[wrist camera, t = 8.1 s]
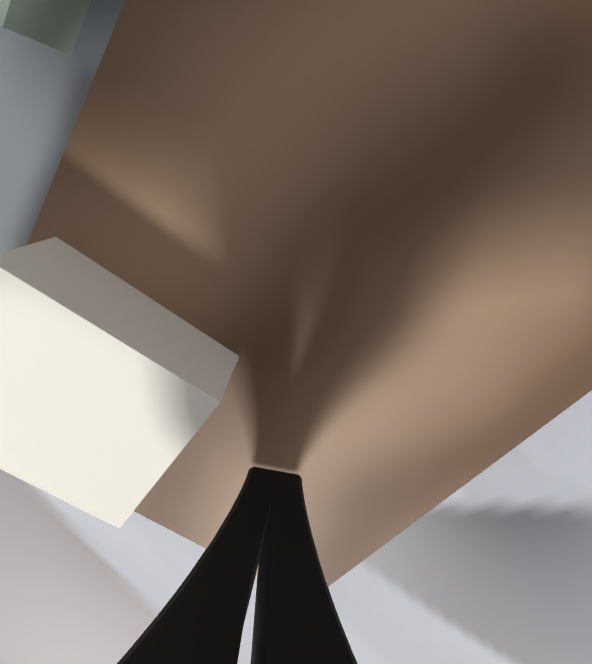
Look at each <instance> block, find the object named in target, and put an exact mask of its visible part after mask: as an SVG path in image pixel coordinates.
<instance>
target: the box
mask: <svg viewBox="0 0 592 664" xmlns="http://www.w3.org/2000/svg"><path fill="white" fill-rule="evenodd" d="M124 3H125V0H91V3H90V6H89V8H88V11H87V14H86V16H85V19H84V22H83V24H82V27H81V30H80V33H79V35H78V38H77V41H76V43H75V46H74V49H73V51H72V54H71V55H70V54H67V53H65V52H62V51H60V50H57V49H55V48H52V47H50V46H48V45H45V44H43V43H40V42H38V41H35V40H33V39H30V38H28V37H25V36H23V35H21V34H18V33H16V32H13V31H11V30H8V29H6V28H3V27H2V26H0V253H3V252H6V251H9V250H13V249H16V248H19V247H23V246H26V245H27V242H28V240H29V237H30V235H31V232H32V230H33V227H34V225H35V222H36V220H37V217H38V215H39V213H40V210H41V208H42V205H43V203H44V200H45V198H46V195H47V193H48V190H49V188H50V185H51V183H52V180H53V178H54V175H55V173H56V171H57V168H58V166H59V163H60V161H61V158H62V156H63V153H64V151H65V148H66V146H67V143H68V141H69V138H70V136H71V133H72V131H73V129H74V126H75V124H76V121H77V119H78V116H79V114H80V111H81V109H82V106H83V104H84V101H85V99H86V96H87V94H88V92H89V89H90V87H91V84H92V82H93V79H94V77H95V74H96V72H97V69H98V67H99V64H100V62H101V59H102V57H103V54H104V52H105V50H106V47H107V45H108V42H109V40H110V37H111V35H112V32H113V30H114V27H115V25H116V22H117V20H118V17H119V15H120V12H121V10H122V8H123V5H124Z"/></svg>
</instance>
